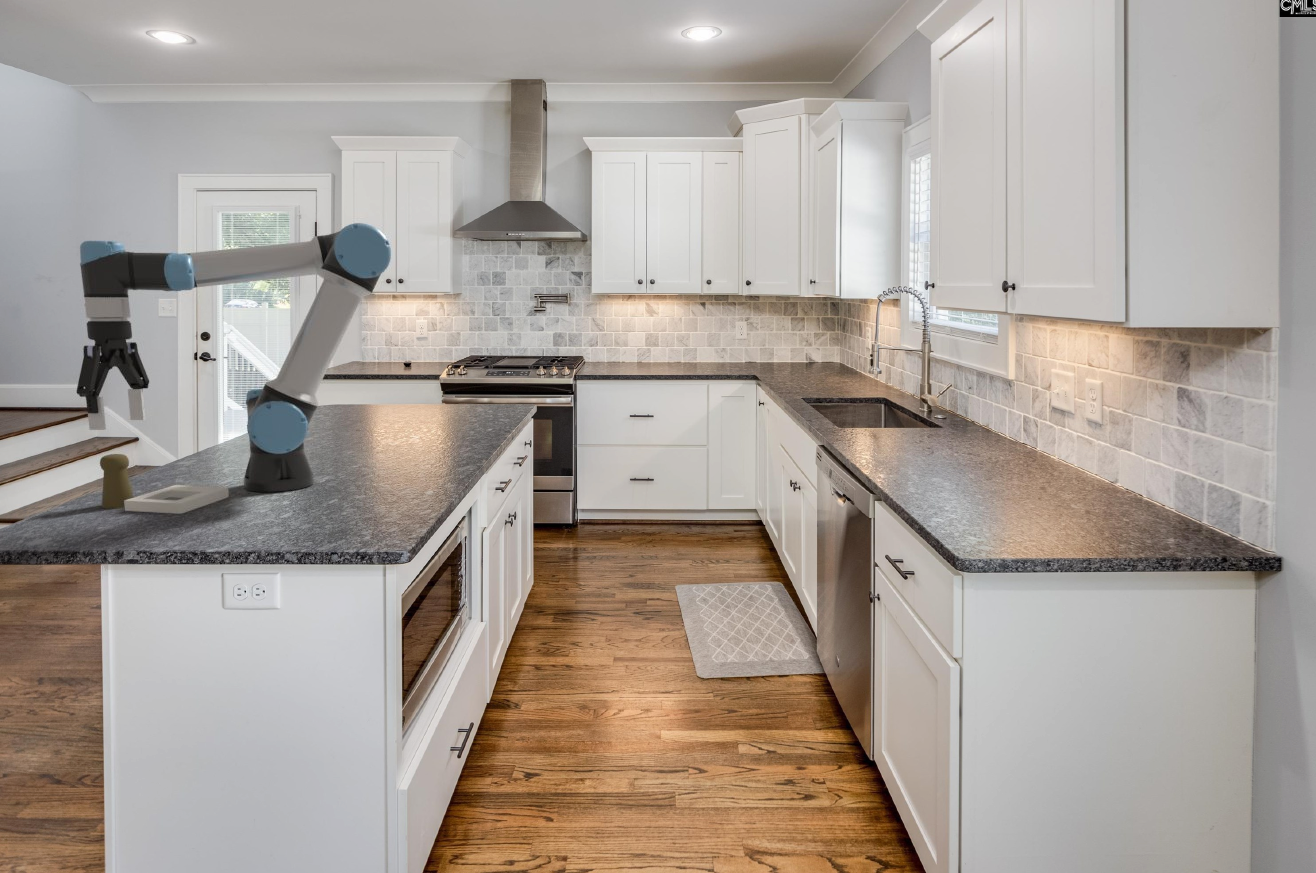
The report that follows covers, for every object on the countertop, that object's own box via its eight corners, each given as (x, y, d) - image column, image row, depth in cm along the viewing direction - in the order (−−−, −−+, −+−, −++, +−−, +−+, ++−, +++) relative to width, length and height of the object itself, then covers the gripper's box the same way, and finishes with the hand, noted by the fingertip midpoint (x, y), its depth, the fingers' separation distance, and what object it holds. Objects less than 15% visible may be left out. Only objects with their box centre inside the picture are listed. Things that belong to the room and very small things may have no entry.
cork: (96, 509, 178) (91, 457, 176) (109, 502, 184) (104, 452, 182) (128, 508, 179) (123, 456, 177) (139, 501, 185) (135, 451, 183)
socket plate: (176, 494, 191) (175, 484, 191) (228, 497, 189) (228, 487, 189) (125, 510, 176) (124, 500, 176) (181, 513, 174) (180, 503, 174)
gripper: (126, 318, 182) (135, 415, 186) (46, 321, 158) (58, 434, 161) (162, 318, 183) (170, 416, 186) (87, 321, 158) (98, 434, 161)
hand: (118, 424), depth 174 cm, fingers open, 13 cm apart
